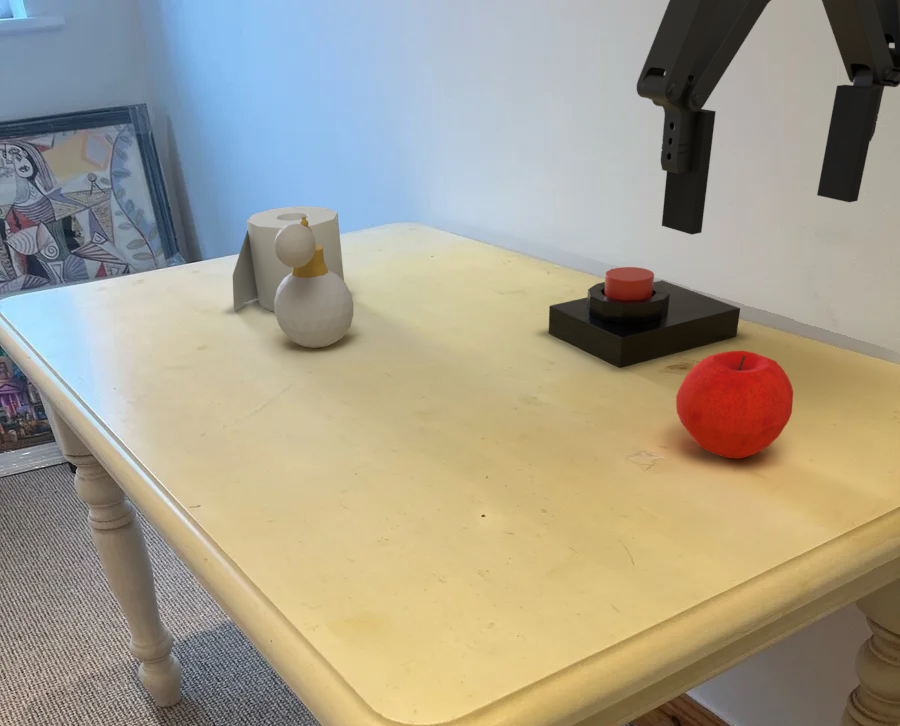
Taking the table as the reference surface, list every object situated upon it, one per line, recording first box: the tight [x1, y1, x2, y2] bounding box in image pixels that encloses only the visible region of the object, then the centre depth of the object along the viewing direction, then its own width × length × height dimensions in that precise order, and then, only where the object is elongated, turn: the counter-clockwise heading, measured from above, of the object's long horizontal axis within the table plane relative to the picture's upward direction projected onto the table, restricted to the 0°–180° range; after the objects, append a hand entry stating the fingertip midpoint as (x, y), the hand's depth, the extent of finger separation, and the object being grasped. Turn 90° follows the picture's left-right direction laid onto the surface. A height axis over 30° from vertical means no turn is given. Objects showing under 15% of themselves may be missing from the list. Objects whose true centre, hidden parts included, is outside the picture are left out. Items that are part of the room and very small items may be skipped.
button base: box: [548, 280, 741, 368], centre depth 88 cm, size 14×11×4 cm
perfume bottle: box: [273, 216, 354, 349], centre depth 86 cm, size 8×10×12 cm
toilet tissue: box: [232, 205, 345, 312], centre depth 99 cm, size 9×13×9 cm
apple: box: [675, 350, 794, 459], centre depth 67 cm, size 8×8×7 cm
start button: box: [604, 266, 655, 300], centre depth 86 cm, size 4×4×2 cm
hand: (762, 213), depth 59 cm, fingers open, 13 cm apart
